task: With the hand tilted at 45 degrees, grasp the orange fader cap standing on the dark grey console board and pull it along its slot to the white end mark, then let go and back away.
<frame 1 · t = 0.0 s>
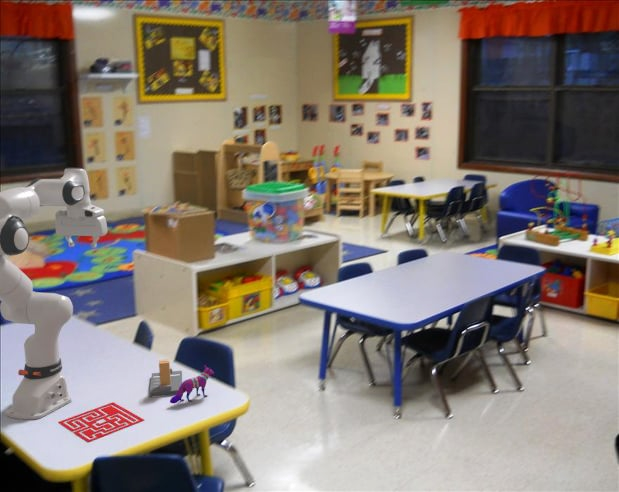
hand: (83, 247, 273), 48 cm above the table, tool pointing down, fingers open, 8 cm apart
purple fox figurine: (193, 399, 252), on the table
fader board: (166, 385, 264), on the table
maze puzzle: (101, 423, 237), on the table
fader cap: (165, 373, 259), point 6 cm above the table, slide at 0.0 cm
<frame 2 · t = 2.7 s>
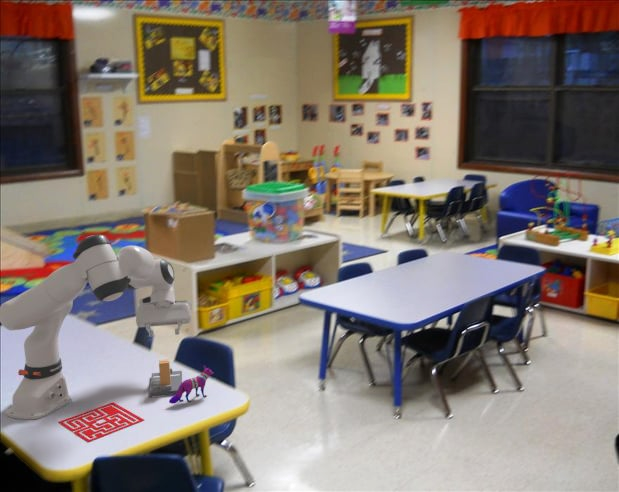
hand: (164, 335, 268), 17 cm above the table, tool tilted 45°, fingers open, 8 cm apart
nothing on the table moved.
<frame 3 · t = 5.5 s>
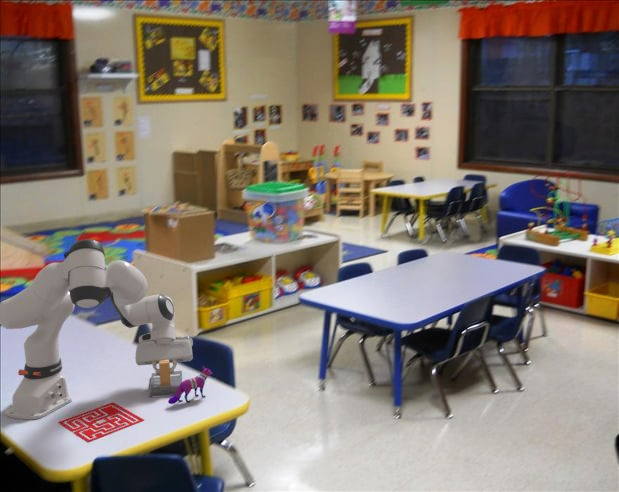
hand: (164, 373, 258), 6 cm above the table, tool tilted 45°, fingers closed on fader cap, 3 cm apart
fader cap: (165, 373, 259), point 6 cm above the table, slide at 0.0 cm, touching gripper
everything else where it was.
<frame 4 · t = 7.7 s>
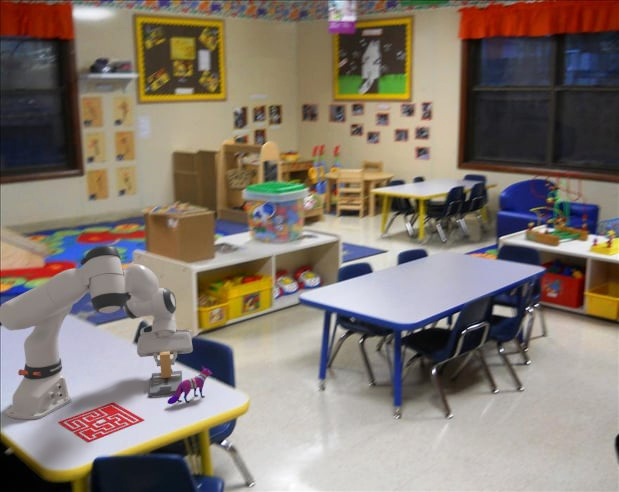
hand: (165, 365, 266), 6 cm above the table, tool tilted 45°, fingers closed on fader cap, 3 cm apart
fader cap: (165, 364, 267), point 6 cm above the table, slide at 8.4 cm, touching gripper
everything else where it was.
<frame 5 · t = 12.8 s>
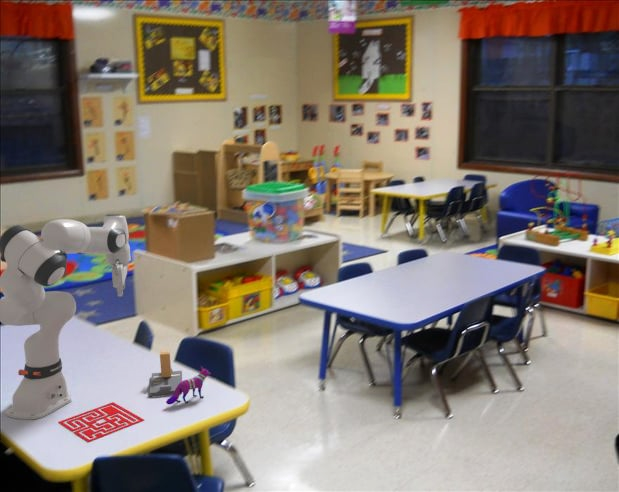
hand: (121, 292, 272), 31 cm above the table, tool pointing down, fingers open, 8 cm apart
fader cap: (165, 363, 267), point 6 cm above the table, slide at 8.9 cm
at the end: fader cap slide at 8.9 cm; the gripper is holding nothing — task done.
